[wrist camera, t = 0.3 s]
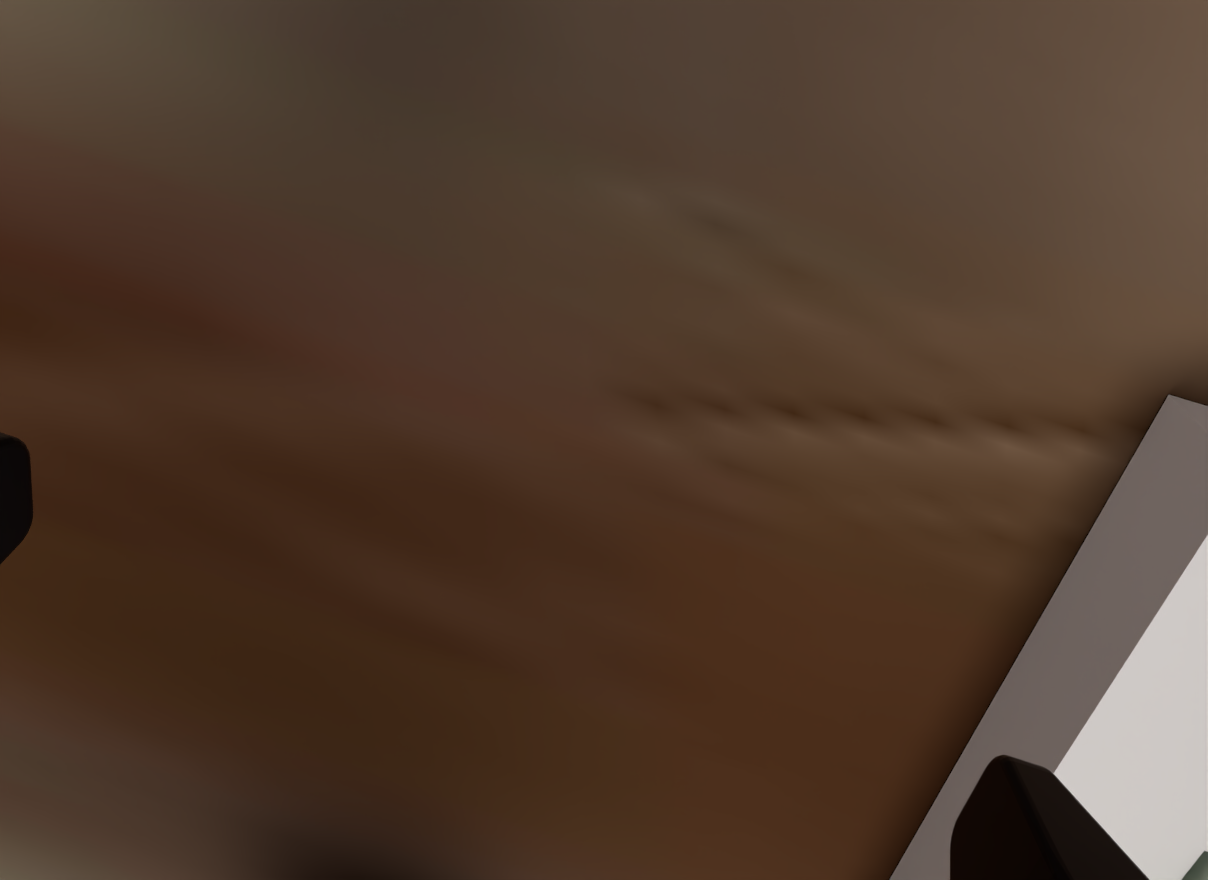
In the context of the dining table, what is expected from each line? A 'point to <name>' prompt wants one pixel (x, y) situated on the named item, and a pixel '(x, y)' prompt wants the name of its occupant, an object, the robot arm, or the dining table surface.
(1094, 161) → the dining table surface
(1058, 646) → the button panel
